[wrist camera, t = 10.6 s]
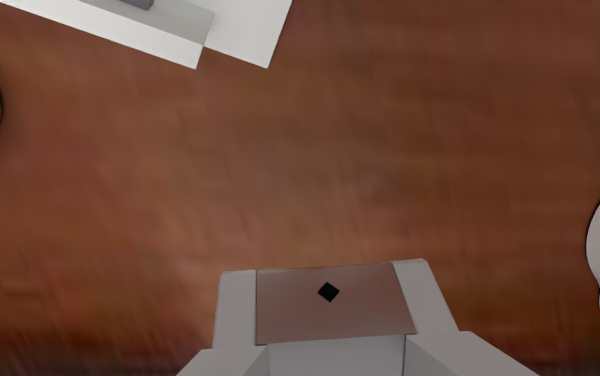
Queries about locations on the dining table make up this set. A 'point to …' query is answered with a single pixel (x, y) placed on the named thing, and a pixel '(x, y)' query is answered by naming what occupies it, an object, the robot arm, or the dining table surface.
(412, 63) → the dining table surface
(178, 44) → the stand
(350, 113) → the dining table surface
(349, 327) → the robot arm
